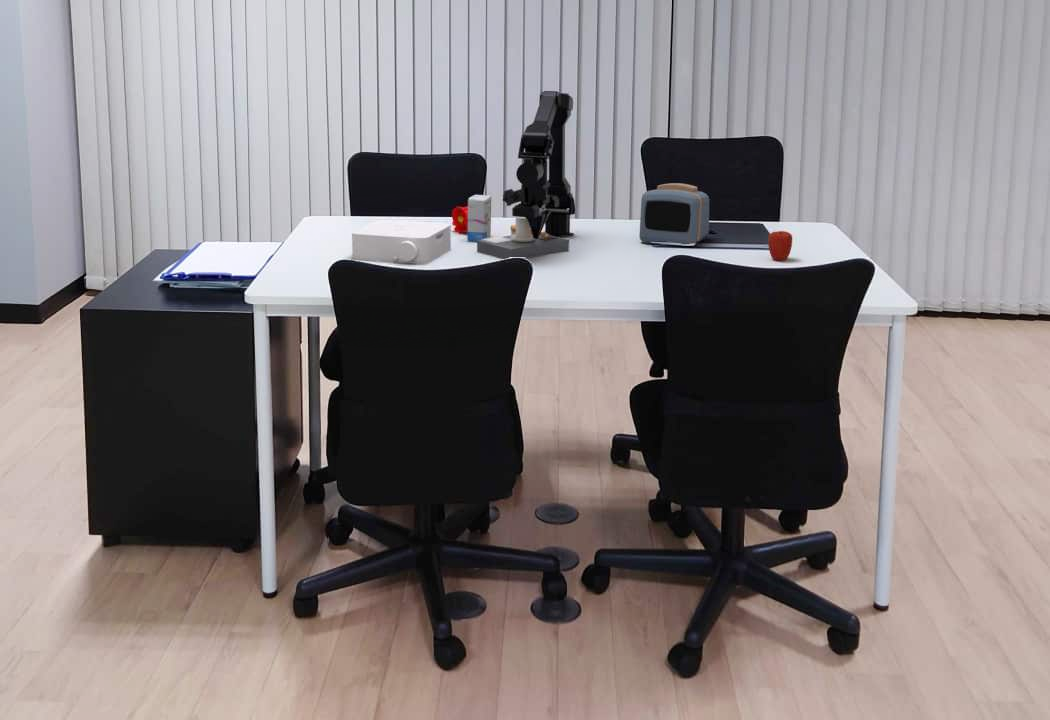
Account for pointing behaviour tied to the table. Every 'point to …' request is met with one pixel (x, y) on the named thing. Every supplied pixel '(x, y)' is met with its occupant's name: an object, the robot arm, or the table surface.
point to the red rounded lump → (780, 245)
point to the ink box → (479, 217)
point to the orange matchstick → (513, 227)
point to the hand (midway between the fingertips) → (535, 238)
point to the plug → (522, 231)
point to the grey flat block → (521, 246)
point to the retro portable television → (674, 214)
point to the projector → (401, 241)
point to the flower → (460, 219)
